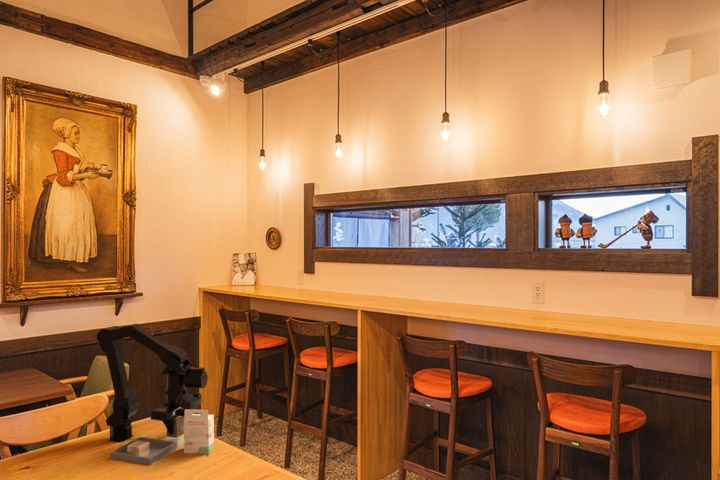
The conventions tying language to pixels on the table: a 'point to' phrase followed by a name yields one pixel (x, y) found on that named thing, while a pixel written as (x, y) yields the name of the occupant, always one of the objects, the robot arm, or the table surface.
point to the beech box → (138, 448)
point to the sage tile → (176, 440)
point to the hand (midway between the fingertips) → (175, 432)
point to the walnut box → (177, 427)
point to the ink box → (198, 432)
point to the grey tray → (156, 451)
